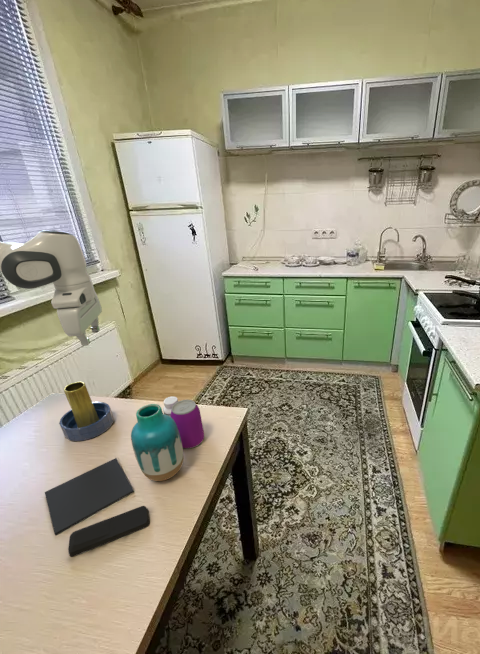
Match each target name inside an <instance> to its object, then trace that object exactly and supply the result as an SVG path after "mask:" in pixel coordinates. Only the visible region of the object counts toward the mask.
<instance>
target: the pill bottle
mask: <svg viewBox="0 0 480 654" xmlns="http://www.w3.org/2000/svg"><path fill="white" fill-rule="evenodd" d="M177 402H179V398H178V397H177V396H167V397H165V398H164V400H163V406H164V407H162V412H163V414H165V415H168V416H170V415H171V410H172V406H173V405H174V404H175V403H177ZM170 417H171V416H170Z"/></svg>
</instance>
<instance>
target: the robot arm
mask: <svg viewBox="0 0 480 654" xmlns="http://www.w3.org/2000/svg"><path fill="white" fill-rule="evenodd" d="M0 272H1V274H2V275H3V277H4V278H5V279H6V281H7V282H8V283H10V284H11V285H13V286H15V287H17V288H19V289H20V288H21V289H26V290H30V289H31V290H32V289H37V288H40V287H44V286H46V285H50V284H53V286H54V288H55V290H54V293H53V297H52V299H51V306H52V308H53V309H56V314H57V317H58V320H59V324H60V325H61V328H62V330H63V332H64V333H65V335H66V336H68V337H76V338H77V339H78V340H79V342H80V344H81V346H83V347H86V346H90V343H91V341H90V337H87V335H86V334H87V332H86V331H87V330H88V329H89V327H90V326H91V327H90V329H91V332H92V334H95V333H96V334H97V333H99V332H100V330H101V328H100V325H99V324H100V323H99V322H100V321H99V316H100V315H101V314H102V312H103V309H102V305H101V301H100V300H99V299H100V298H99V296H98V294H97V292H96V289H95V287H94V284H93V281H92V277H91V275H90V274H89V273H88V270H87V261H86V257H85V255H84V252H83V250H82V247H81V243H80V242H79V240H78V239H77V237H76V236H75V235H73V234H72V233H71V232H68V231H65V230H64V231H63V230H56V229H54V230H53V229H43V230H39V231H38V233H36V234H35V236H33V237H32V238H31V239H29V240H28V241H26V242H24V243H22V242H9V241H2V240H0Z"/></svg>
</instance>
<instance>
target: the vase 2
mask: <svg viewBox="0 0 480 654" xmlns="http://www.w3.org/2000/svg"><path fill="white" fill-rule="evenodd" d="M135 416H136V421H137V422H136V423H135V424H134V426H133V427H132V429H131V433H130V441H131V446H132V449H133V454H134V457H135V459H136V462H137V464H138V467H139V469H140V471H141V473H142V474H143V475H144V477H146V478H147V479H149V480H151V481H153V482H154V481H156V482H162V481H166V480H170V479H171V478H172V477H174V476H176V475H177V474H178V473H179V471H180V470H181V468H182V466H183V463H184V448H183V447H182V442H181V438H180V434H179V430H178V428H177V425H176V423H175V421H174V420H173V419H172V418H171V417H170V416H168V415H165V414H164V412H163V408H162V407H161V406H160V404H156V403H149V404H146V405H143V406H142V407H140V408H139V409H137V411H136V413H135Z"/></svg>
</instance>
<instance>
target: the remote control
mask: <svg viewBox="0 0 480 654" xmlns="http://www.w3.org/2000/svg"><path fill="white" fill-rule="evenodd" d="M150 521H151V520H150V512H149V509H148V508H147V506H145V505H140V506H138V507H135V508H133V509H130V510H127V511H124V512H122V513H120V514H116V515H114V516H111V517H109V518H106V519H104V520H100V521H98V522H96V523H92V524H90V525H88V526H85V527H83V528H82V527H81V528H79V529H76V530H75V531H72V533H71V534H70V535H69V541H68V548H67V550H68V557H71V558H72V557H76V556H78V555H80V554H81V555H82V554H83V553H85V552H88V551H91V550H93V549H95V548H99V547H101V546H103V545H106V544H108V543H111V542H113V541H116V540H118V539H120V538H124V537H126V536H129V535H131V534H133V533H136V532H138V531H141V530H143V529H146V528H147V527H149V526H150Z"/></svg>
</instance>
